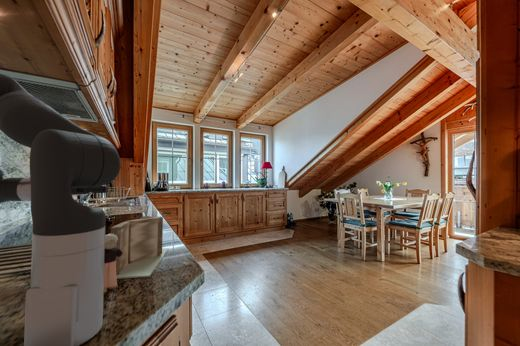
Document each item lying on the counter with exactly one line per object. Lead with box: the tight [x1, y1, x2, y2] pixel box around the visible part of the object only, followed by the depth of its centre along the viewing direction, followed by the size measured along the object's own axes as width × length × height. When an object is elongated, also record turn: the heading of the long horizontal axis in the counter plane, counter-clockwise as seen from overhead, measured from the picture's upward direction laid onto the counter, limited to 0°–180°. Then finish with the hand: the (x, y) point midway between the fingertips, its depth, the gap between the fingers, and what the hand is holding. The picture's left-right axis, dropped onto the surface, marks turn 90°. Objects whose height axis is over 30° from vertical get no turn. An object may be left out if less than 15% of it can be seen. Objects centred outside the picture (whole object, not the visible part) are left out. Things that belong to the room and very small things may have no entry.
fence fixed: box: [110, 221, 130, 276], centre depth 62 cm, size 8×2×12 cm, turn 10°
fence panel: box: [124, 216, 164, 262], centre depth 71 cm, size 11×2×12 cm, turn 138°
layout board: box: [116, 247, 170, 280], centre depth 69 cm, size 23×12×1 cm, turn 10°
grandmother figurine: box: [103, 233, 124, 294], centre depth 53 cm, size 8×4×13 cm, turn 168°
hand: (107, 189), depth 72 cm, fingers closed
